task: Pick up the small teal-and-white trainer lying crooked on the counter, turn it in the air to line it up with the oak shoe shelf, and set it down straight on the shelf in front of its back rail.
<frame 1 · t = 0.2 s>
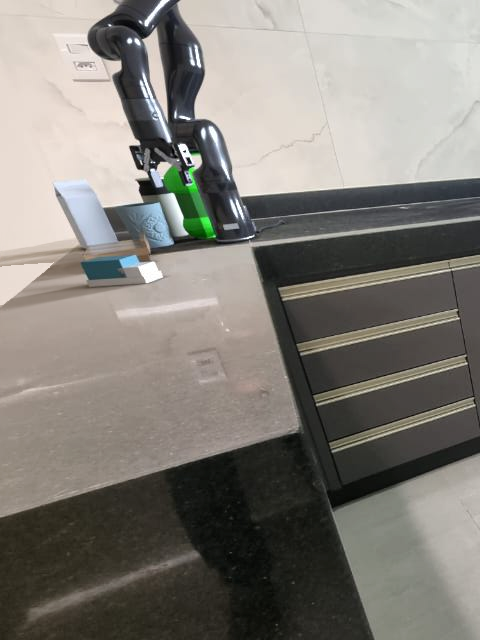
hand: (173, 186, 139), 17 cm above the counter, tool pointing down, fingers open, 8 cm apart
plastic bottle: (207, 237, 166), on the counter
travel mug: (175, 237, 170), on the counter
trainer: (127, 281, 118), on the counter
shoe shelf: (124, 261, 138), on the counter
milk carton: (101, 247, 159), on the counter
drinking glass: (155, 246, 157), on the counter
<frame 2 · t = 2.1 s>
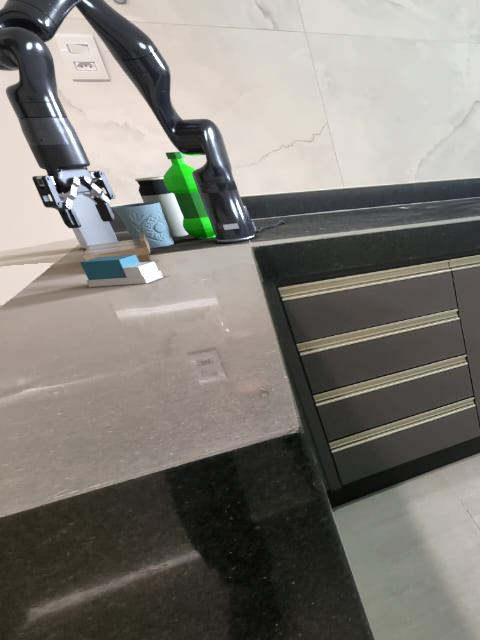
hand: (92, 224, 113), 13 cm above the counter, tool pointing down, fingers open, 8 cm apart
nothing on the counter moved.
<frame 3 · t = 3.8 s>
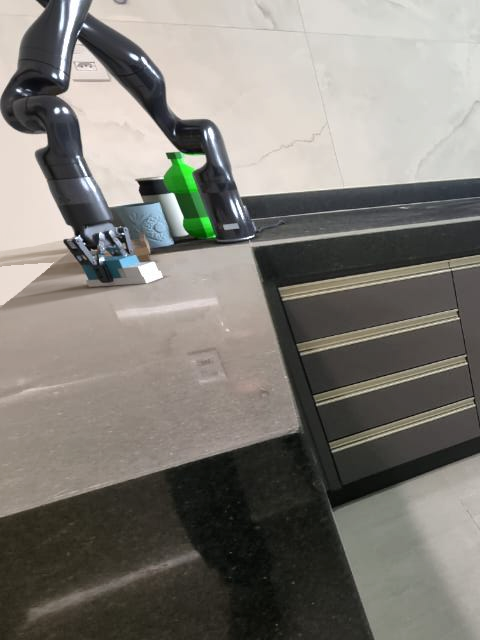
hand: (118, 278, 118), 1 cm above the counter, tool pointing down, fingers closed on trainer, 5 cm apart
trainer: (126, 281, 118), on the counter, touching gripper
everything else where it was.
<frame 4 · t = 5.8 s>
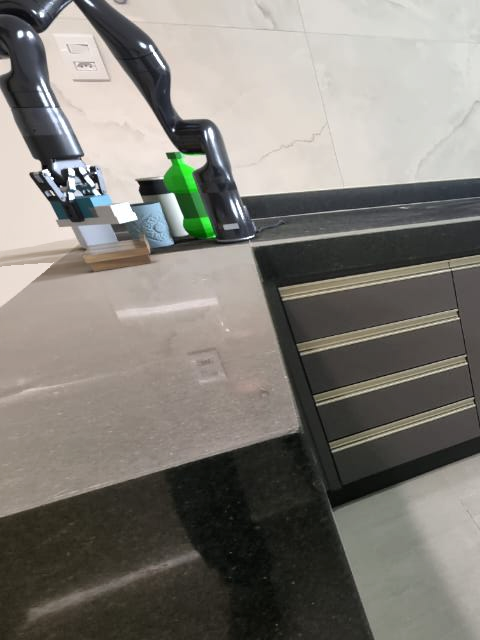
hand: (89, 219, 113), 14 cm above the counter, tool pointing down, fingers closed on trainer, 5 cm apart
trainer: (99, 223, 113), point 13 cm above the counter, touching gripper
everything else where it was.
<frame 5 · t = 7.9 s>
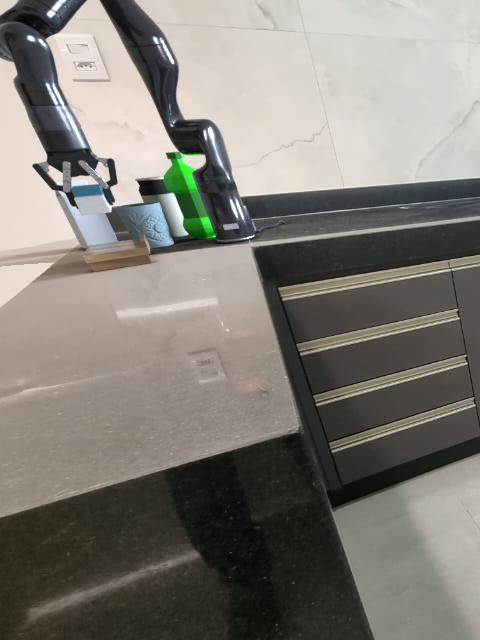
hand: (95, 206, 125), 15 cm above the counter, tool pointing down, fingers closed on trainer, 5 cm apart
trainer: (97, 211, 124), point 14 cm above the counter, touching gripper
everything else where it was.
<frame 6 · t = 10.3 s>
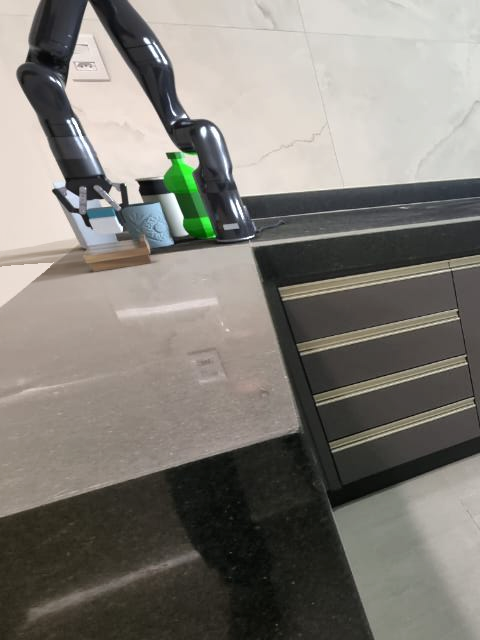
hand: (108, 227, 136), 9 cm above the counter, tool pointing down, fingers closed on trainer, 5 cm apart
trainer: (109, 231, 135), point 8 cm above the counter, touching gripper
everything else where it was.
when the fingers open (5 cm above the counter, at t = 11.8 s): trainer stays where it is, resting on shoe shelf.
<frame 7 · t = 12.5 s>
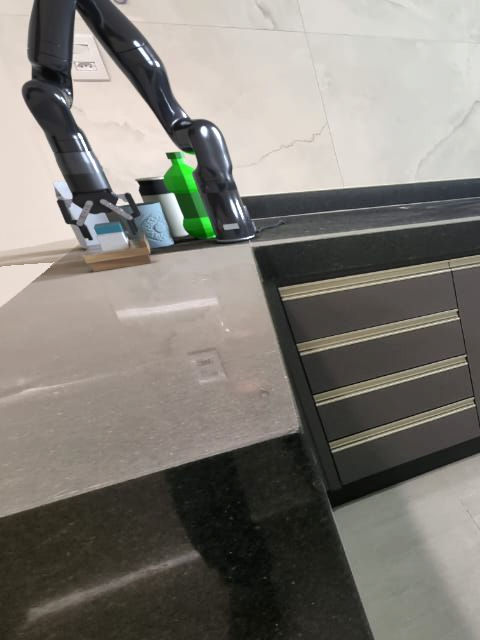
hand: (113, 237, 137), 6 cm above the counter, tool pointing down, fingers open, 8 cm apart
trainer: (116, 246, 137), point 4 cm above the counter, touching shoe shelf
everything else where it was.
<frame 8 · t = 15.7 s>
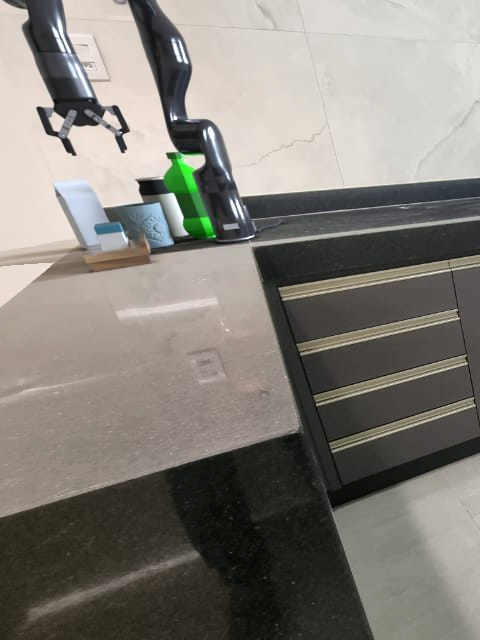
hand: (99, 154, 125), 26 cm above the counter, tool pointing down, fingers open, 8 cm apart
nothing on the counter moved.
at the end: trainer 0.2 cm off-centre on the shoe shelf, point 4.0 cm above the shoe shelf's base; trainer tilted 0°; the gripper is holding nothing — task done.
